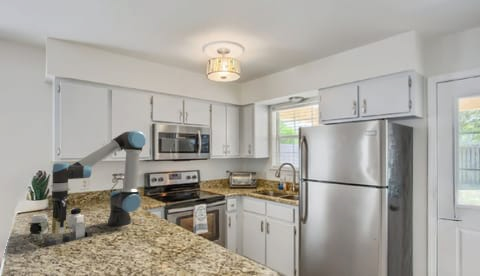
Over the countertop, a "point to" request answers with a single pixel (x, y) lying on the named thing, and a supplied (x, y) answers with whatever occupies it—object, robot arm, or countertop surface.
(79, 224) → the light grey upright block
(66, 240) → the rack
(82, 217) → the medicine bottle
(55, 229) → the block
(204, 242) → the countertop surface
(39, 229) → the pneumatic valve
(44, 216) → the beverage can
